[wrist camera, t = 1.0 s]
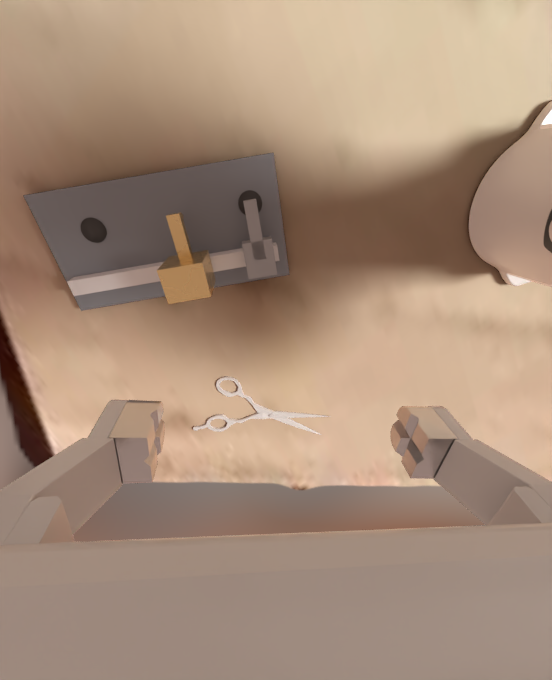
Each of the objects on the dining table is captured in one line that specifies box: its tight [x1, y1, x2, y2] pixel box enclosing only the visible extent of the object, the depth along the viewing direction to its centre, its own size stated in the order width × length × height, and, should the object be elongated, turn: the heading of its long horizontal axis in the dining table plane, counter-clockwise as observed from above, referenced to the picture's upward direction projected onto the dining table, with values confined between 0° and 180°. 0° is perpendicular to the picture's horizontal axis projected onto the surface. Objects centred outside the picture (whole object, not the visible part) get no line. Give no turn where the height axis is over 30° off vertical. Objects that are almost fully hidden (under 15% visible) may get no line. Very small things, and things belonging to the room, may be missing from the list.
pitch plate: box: [23, 153, 289, 311], centre depth 31 cm, size 24×12×4 cm, turn 98°
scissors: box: [193, 376, 331, 435], centre depth 46 cm, size 11×1×20 cm
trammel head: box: [157, 212, 216, 304], centre depth 29 cm, size 4×7×6 cm, turn 8°
